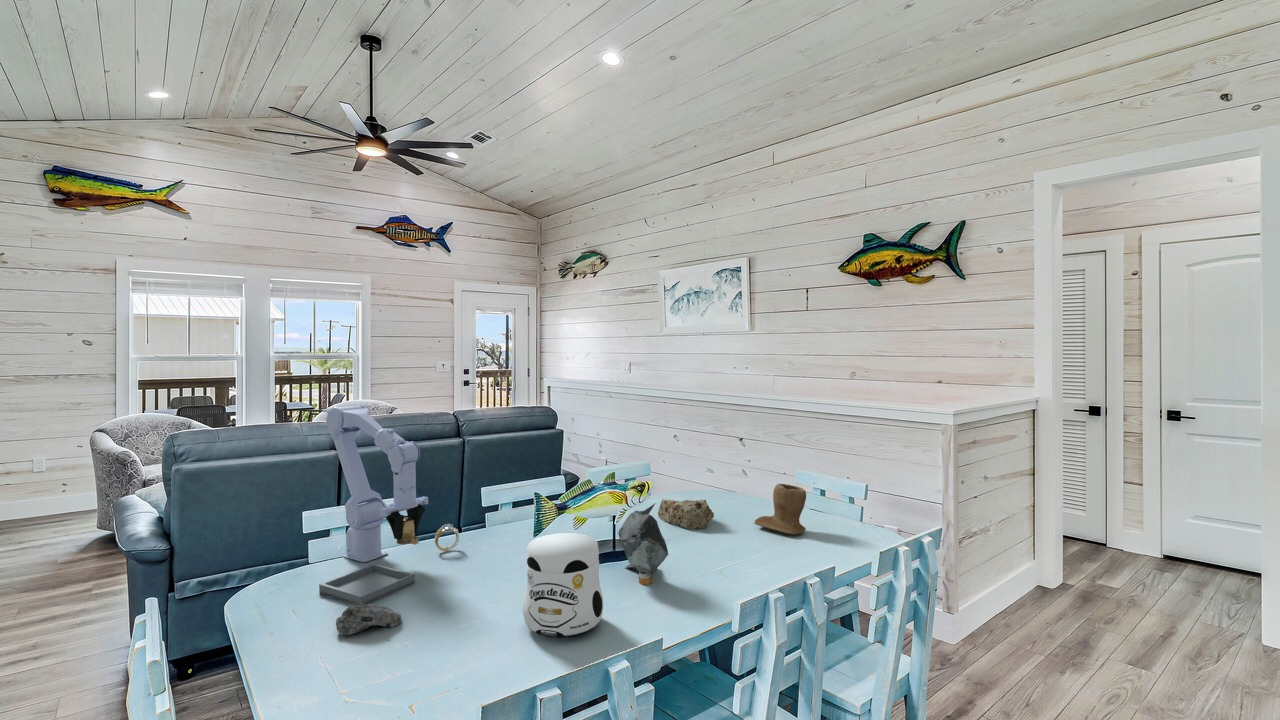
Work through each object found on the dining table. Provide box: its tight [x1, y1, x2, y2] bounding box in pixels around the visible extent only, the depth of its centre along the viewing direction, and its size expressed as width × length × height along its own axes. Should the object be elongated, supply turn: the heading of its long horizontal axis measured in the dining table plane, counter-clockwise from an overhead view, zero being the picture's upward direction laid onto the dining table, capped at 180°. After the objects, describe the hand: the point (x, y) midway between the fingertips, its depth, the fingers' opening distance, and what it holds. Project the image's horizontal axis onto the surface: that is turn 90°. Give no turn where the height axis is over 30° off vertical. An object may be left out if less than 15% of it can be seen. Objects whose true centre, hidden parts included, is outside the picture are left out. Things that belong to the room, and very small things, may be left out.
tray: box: [318, 563, 416, 605], centre depth 152 cm, size 16×16×2 cm
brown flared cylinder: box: [753, 483, 807, 535], centre depth 197 cm, size 15×12×15 cm
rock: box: [657, 498, 715, 531], centre depth 207 cm, size 20×14×10 cm
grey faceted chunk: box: [618, 502, 669, 586], centre depth 157 cm, size 14×15×18 cm
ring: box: [434, 523, 460, 552], centre depth 178 cm, size 7×3×8 cm, turn 121°
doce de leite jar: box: [522, 532, 604, 639], centre depth 131 cm, size 17×17×18 cm
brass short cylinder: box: [396, 516, 419, 545], centre depth 166 cm, size 7×5×6 cm
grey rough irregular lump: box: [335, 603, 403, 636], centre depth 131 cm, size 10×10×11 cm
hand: (405, 536), depth 166 cm, fingers closed on brass short cylinder, 5 cm apart
